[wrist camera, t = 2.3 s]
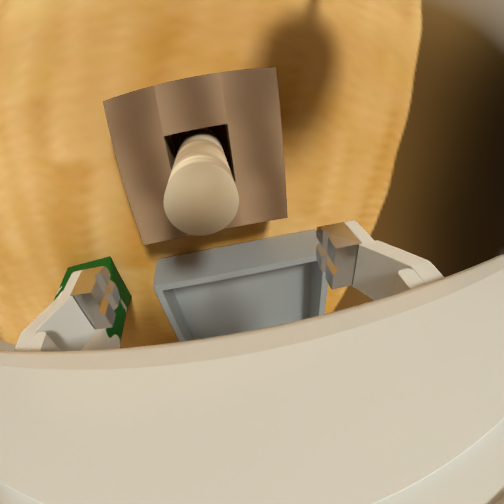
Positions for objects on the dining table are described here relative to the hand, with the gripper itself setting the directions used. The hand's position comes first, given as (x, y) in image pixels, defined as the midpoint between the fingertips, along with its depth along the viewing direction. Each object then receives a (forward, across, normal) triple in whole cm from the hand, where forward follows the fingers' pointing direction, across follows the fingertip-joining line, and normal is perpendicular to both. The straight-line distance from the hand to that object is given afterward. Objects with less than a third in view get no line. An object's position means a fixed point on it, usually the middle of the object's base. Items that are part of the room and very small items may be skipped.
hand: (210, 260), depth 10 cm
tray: (+19, -1, +22) cm, 29 cm away
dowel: (+19, 0, 0) cm, 19 cm away
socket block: (+19, +1, 0) cm, 19 cm away
